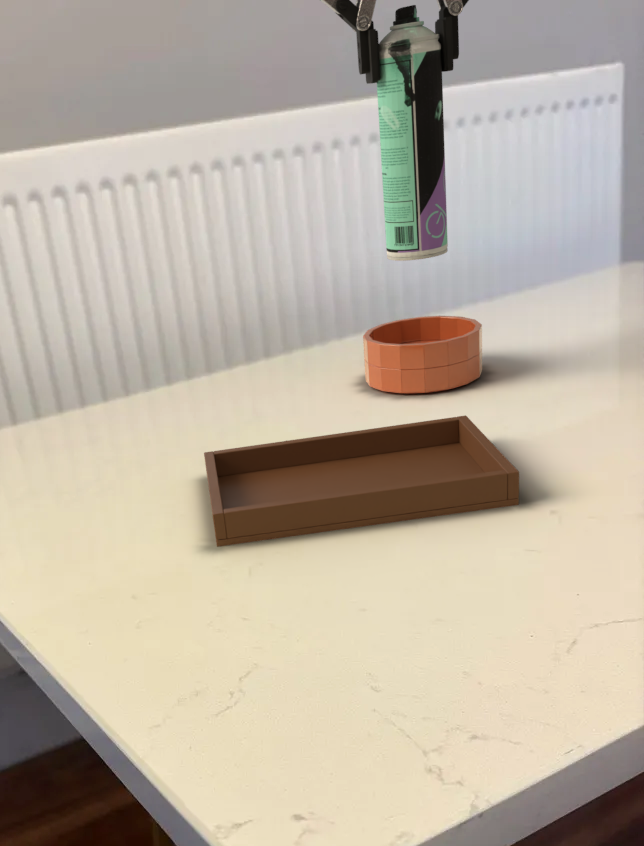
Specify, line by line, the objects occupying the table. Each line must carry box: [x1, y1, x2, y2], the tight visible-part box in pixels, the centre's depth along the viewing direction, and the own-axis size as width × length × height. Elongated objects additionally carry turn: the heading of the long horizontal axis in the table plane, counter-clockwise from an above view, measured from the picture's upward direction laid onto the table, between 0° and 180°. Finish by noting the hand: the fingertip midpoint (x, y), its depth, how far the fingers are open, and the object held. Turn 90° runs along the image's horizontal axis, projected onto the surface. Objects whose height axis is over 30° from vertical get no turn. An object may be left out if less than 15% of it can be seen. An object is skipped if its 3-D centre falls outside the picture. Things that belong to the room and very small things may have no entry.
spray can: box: [376, 4, 449, 262], centre depth 90 cm, size 6×6×20 cm
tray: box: [203, 415, 520, 547], centre depth 78 cm, size 22×14×3 cm, turn 92°
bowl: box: [362, 315, 483, 395], centre depth 102 cm, size 11×11×5 cm
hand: (408, 74), depth 88 cm, fingers closed on spray can, 5 cm apart
